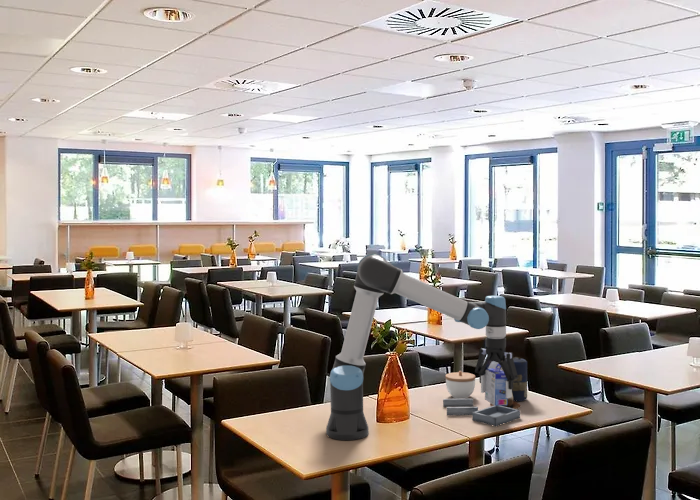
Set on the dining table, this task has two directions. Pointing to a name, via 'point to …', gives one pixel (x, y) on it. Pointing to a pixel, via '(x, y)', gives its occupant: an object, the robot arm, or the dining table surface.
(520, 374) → the canister
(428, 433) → the dining table surface
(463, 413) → the dock rails
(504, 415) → the tray
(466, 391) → the lidded bowl
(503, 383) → the ink cartridge box
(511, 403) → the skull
